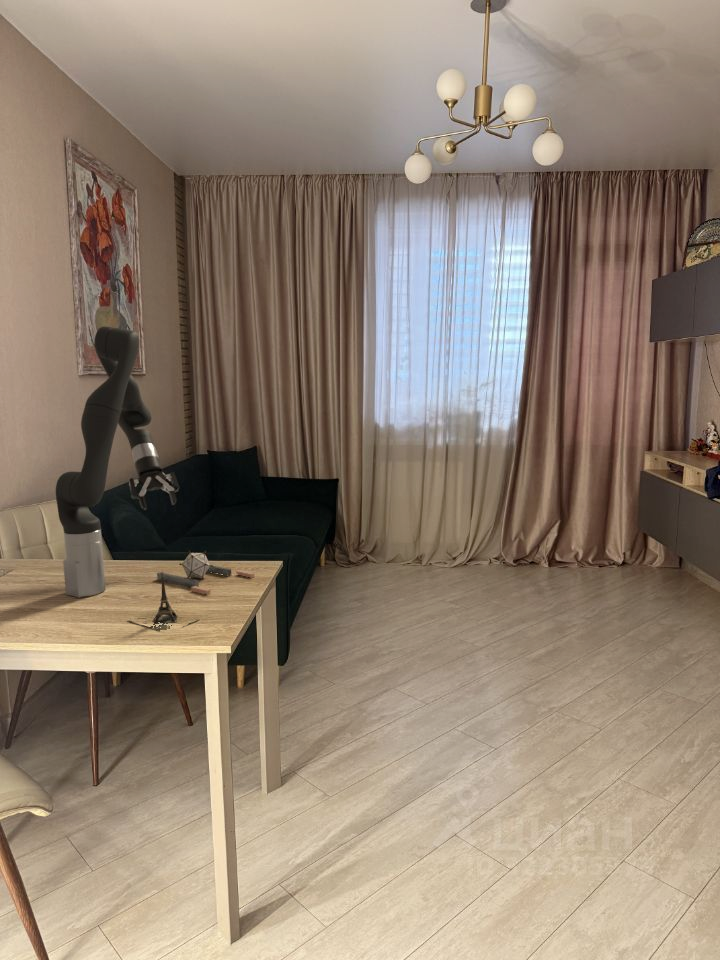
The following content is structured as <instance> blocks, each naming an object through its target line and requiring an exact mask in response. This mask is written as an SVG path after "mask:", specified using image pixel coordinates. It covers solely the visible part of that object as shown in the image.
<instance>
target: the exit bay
mask: <svg viewBox="0 0 720 960" xmlns="http://www.w3.org/2000/svg"><path fill="white" fill-rule="evenodd" d="M235 572H236V573H235V574H238V575H242V576H241V577H243V576H246V577H245V578H248V577H250V578H249V579H254V578H255V573H254V572H249V571H246V570H240V569H239V570H235ZM238 575H237V576H238ZM253 577H254V578H253ZM190 588H191V592H192V591H193V592H192V593H196V592H198V593H197V594H200V593H202V594H201V595H204V594H209V595H211V589H209V588H205V587H201V586H199V587H197V586H194V587H190Z"/></svg>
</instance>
